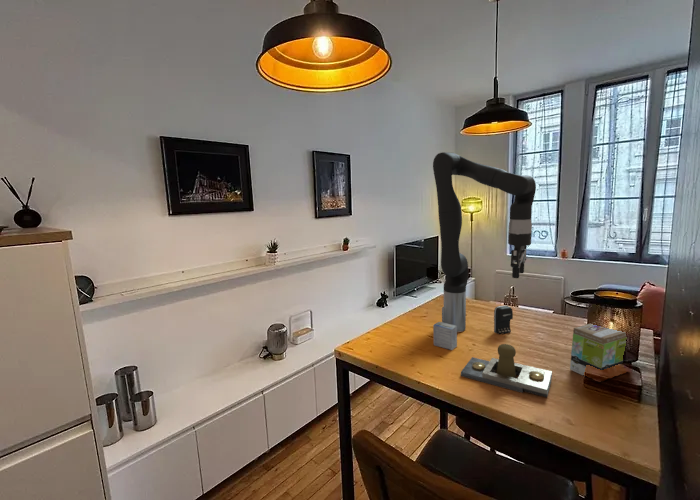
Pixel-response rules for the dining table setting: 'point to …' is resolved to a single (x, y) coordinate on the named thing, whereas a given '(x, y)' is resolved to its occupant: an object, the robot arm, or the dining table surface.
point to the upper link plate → (522, 378)
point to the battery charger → (502, 319)
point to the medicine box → (445, 335)
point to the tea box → (596, 347)
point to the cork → (506, 360)
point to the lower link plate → (476, 370)
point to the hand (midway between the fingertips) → (518, 275)
